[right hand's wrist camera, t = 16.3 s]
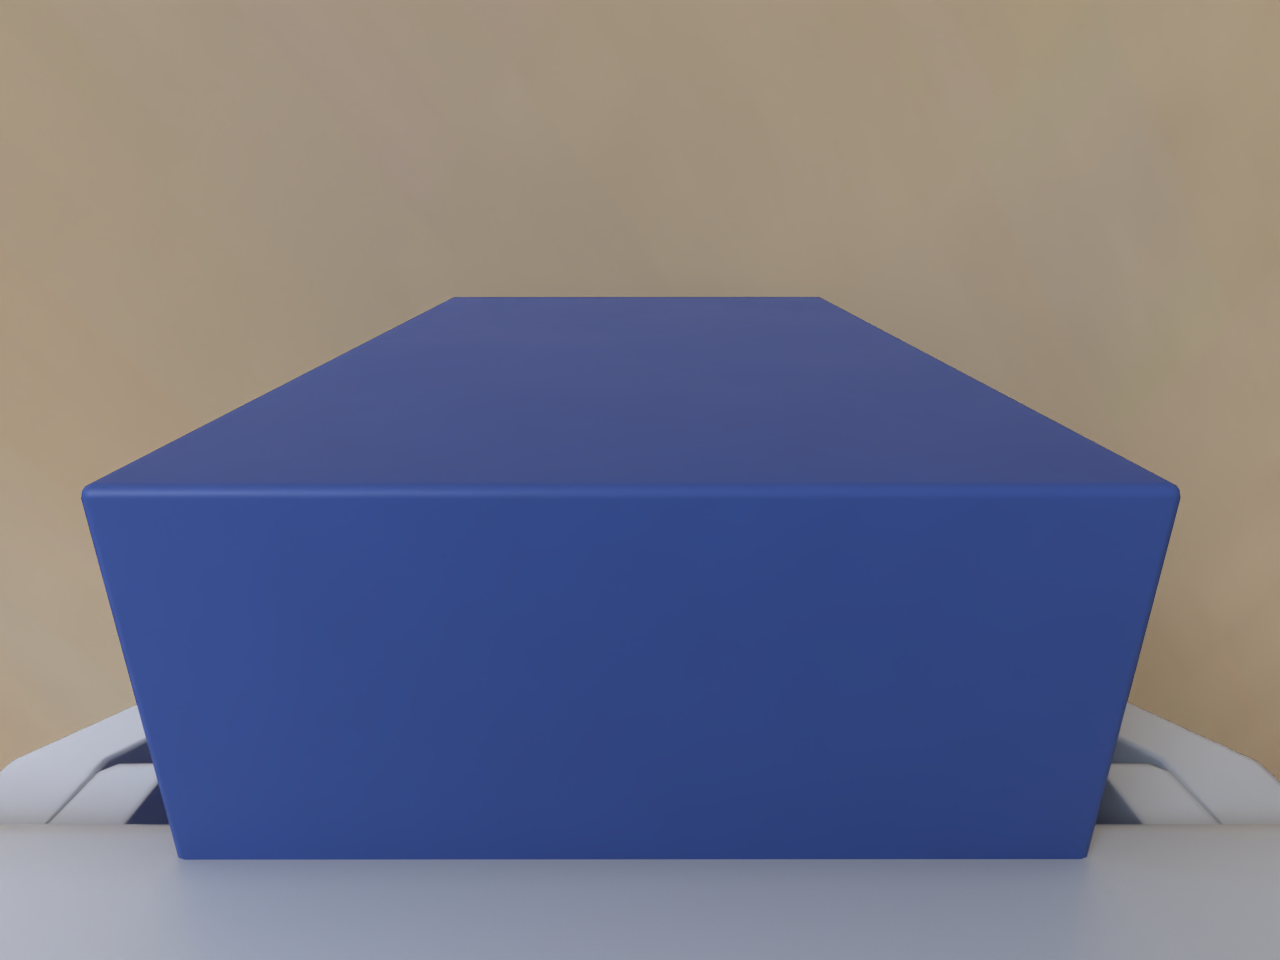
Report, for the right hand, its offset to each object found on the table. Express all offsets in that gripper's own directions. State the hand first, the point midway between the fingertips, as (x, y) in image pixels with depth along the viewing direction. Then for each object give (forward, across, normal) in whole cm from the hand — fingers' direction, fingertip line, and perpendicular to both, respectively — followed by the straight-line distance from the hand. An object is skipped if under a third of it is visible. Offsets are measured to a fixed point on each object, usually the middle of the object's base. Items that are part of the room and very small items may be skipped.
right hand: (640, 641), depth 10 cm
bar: (+3, 0, -7) cm, 7 cm away
